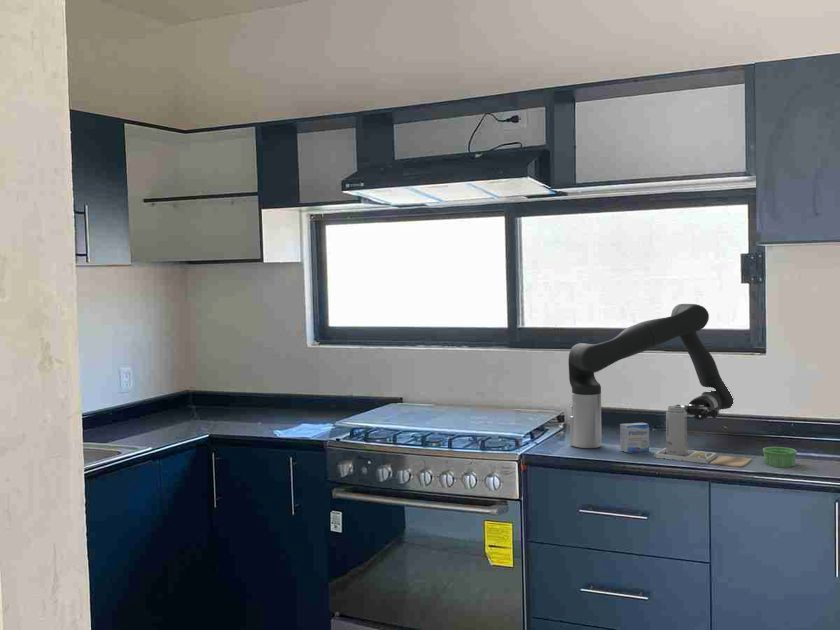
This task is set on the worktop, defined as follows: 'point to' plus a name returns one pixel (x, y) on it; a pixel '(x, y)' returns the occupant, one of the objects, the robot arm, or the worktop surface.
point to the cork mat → (731, 461)
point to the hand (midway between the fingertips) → (688, 414)
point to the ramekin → (779, 456)
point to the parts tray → (694, 457)
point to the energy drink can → (676, 431)
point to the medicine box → (634, 437)
